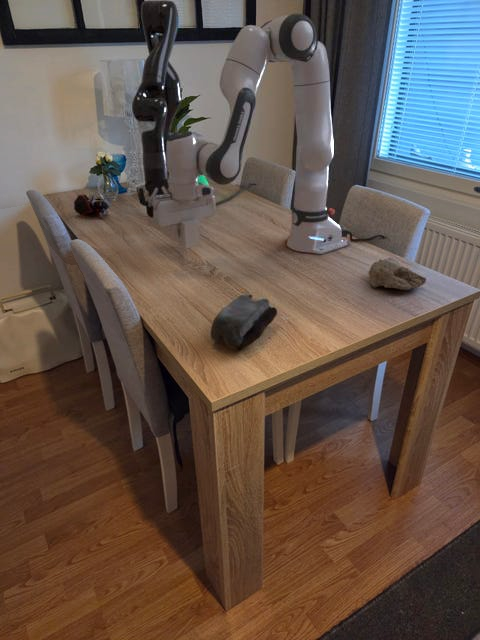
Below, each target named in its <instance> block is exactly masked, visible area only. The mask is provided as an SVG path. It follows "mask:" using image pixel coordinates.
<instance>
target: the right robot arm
mask: <svg viewBox="0 0 480 640" xmlns="http://www.w3.org/2000/svg"><path fill="white" fill-rule="evenodd" d="M318 39H319V38H318V36H317V31H316V28H315V25H314V22H313V21H312V19H310V17H308V16H307V15H305V14H302V13H291V14H285V15H281V16H278V17H276V18H274V19H272V20H269V21H266V22H265V23H264V24H262V25H261V26H259V25H258V26H257V25H253V24H249V25H245V26H243V27H242V28H241V29H240V31H239V32H238V34H237V35H236V37H235V39H234V41H233V43H232V45H231V46H230V49H229V51H228V53H227V56H226V58H225V60H224V63H223V65H222V69H221V73H220V78H219V89H220V91H221V93H222V96H223V97H224V98H225V100H226V101H227V103H228V105H229V117H228V120H227V124H226V127H225V131H224V134H223V137H222V140H221V142H220V143H219V144H218V143H215V142H213V141H209V140H206V139H204V138H201V137H199V136H198V135H196V134H194V133H193V132H192V131H189V130H185V131H177V132H174V133H171V136H170V137H169V138H168V140H167V145H166V162H167V172H168V185H169V187H168V193H167V194H163V195H157V196H156V197H155V198H154V199H153V201H152V203H153V209H154V213H153V217H154V223H155V224H156V225H157V226H159V227H164V226H169V225H170V227H171V228H172V230H173V231H174V236H175V237H180V236H181V235H180V231H179V230H176V228H175V227H177V224H178V223H181V222H182V221H187V220H192V219H197V220H199V227H200V226H201V224H202V221H203V219H206V218H211V217H214V216H215V215H216V213H217V207H216V206H217V205H216V204H215V203H216V198H215V196H214V188H213V187H212V186H210V185H209V186H208V185H206V184H203V183H198V177H199V176H200V175H204V176H205V178H208V179H210V180H211V181H213V182H214V183H215V184H218V185H221V186H225V185H229V184H231V183H232V182H234V181H235V180H236V179H237V178H238V176H239V174H240V172H241V169H242V163H243V162H242V161H243V152H244V148H245V144H246V142H247V137H248V134H249V130H250V128H251V124H252V121H253V117H254V113H255V109H256V102H257V99H256V96H257V91H258V89H259V85H260V82H261V80H262V77H263V75H264V72H265V68H266V67H267V65H268V63H287V62H288V64H289V65H290V68H291V72H292V85H293V86H292V89H293V102H294V116H295V117H294V118H295V127H296V128H295V129H296V141H297V142H296V155H295V176H294V177H295V178H294V179H295V181H294V195H293V206H292V209H291V226H290V231H289V235H288V239H287V241H286V246H287V247H288V248H289V249H291V250H293V251H296V252H301V253H310V254H315V255H322V254H326V253H329V252H331V251H334V250H337V249H341V248H344V247H347V246H348V241H347V239H346V238H347V237H348V235H349V240H350V241H351V242H360V241H361V242H362V241H363V242H364V241H366V242H367V241H371V240H374V239H376V238H378V237H380V238H382V239H386V237H385V236H384V235H383V234H382V233H377V234H376V235H372V236H370V237H363V238H361V237H359V238H353V233H352V232H351V231H350V230H348V229H347V228H346V227H345V226H344V225H339V224H338V223H337V222H335V221H334V220H333V219H332V218H330V216H333V215H335V213H336V210H335V209H333V208H332V207H327V205H326V204H327V196H328V187H329V182H328V181H329V166H330V164H331V162H332V160H333V158H334V135H333V134H334V133H333V122H332V121H333V119H332V111H331V110H332V108H331V80H330V79H331V78H330V77H331V76H330V65H329V59H328V52H327V49H326V46H325V45H324V43H323V42H322V41H319V40H318ZM329 215H330V216H329Z"/></svg>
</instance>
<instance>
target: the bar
mask: <svg viewBox="0 0 480 640" xmlns="http://www.w3.org/2000/svg"><path fill="white" fill-rule="evenodd" d="M151 206H152V211H153V213H154V209H153V203H152V205H151ZM147 219H148V224H149V225H151V226H152V227H153V228H155V229H157V230H158V231H159V232H161V233H162V234H164V235H165V236H167V237H168V238H169V239H171V240H172V241H174V242H175V243H177V244H178V245H180V246H182V247H183V248H184V249H185V250H186V249H190V248H191V249H192V248H194V247H198V246H201V231H200V226H199V220H197V219H192V220H187V221H182V222H181V223H178V224H177V227H175V228H176V230H179V231H180V235H181V236H180V237H175V236H174V231H173V230H172V228H171V227H170V225H169V226H164V227H159V226H157V225H156V224H155V223H154V217H149V216H148V215H147Z"/></svg>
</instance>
